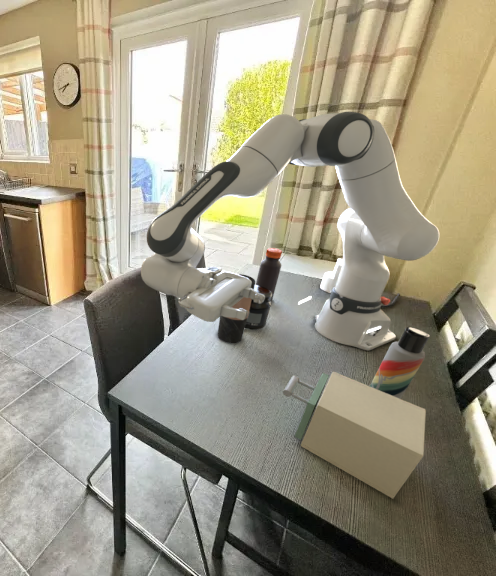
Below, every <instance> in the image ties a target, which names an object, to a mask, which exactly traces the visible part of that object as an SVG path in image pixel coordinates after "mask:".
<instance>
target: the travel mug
mask: <svg viewBox="0 0 496 576" xmlns="http://www.w3.org/2000/svg"><path fill="white" fill-rule="evenodd" d="M237 274H238V275H241V276H244V277H246V278H248V279H250V280H251V281H252V284H251V288H252V289H253V290H254V286H255V285H256V280H255V278H254V277H251V276H250V275H247V274H242V273H237ZM251 300H252V299H251V298H246V297H243V298H242V299H241V300H240V301H239V302H237V303H236V304H235V305H234V306H232V307H231V308H235V309H239V308H242V309H244V310H247V311H248V313H249V309H250V304H251ZM247 318H248V314H247V317H246V318H245V319H244V320H241V319H238V318H231V317H224V316H220V317H219V322H218V328H217V337H218V339H219V340H220V341H222V342H224V343H227V344H233V345H234V344H235V345H236V344H239V343H240V342H242V339H243V336H244V332H245V329H246V328H245V325H246V321H247Z"/></svg>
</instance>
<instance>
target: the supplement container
mask: <svg viewBox="0 0 496 576" xmlns="http://www.w3.org/2000/svg"><path fill="white" fill-rule="evenodd" d="M254 290H255V291H256V292H257V293H259V294H262V295H264V296H265V299H264V302H262V303H261V304H258V303H255V302H254V300H253V299H252V300H251V304H250V309H249V313H248V318H247V321H246V325H245V329H246V330H253V331H254V330H257V331H258V330H261V329H263V328H265V327H266V325H267V321H268V317H269V314H270V310H271V307H272V302H271V301H270V300H271V297H272V292H271V291H270V290H268V289H267V288H265V287H262V286H258V285H256V284H255V286H254Z"/></svg>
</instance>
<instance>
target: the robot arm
mask: <svg viewBox="0 0 496 576" xmlns="http://www.w3.org/2000/svg"><path fill="white" fill-rule="evenodd" d="M288 165H293V166H303V167H310V168H316V167H327V166H329V167H335V170H336V175H337V178H338V180H339V185H340V188H341V191H342V194H343V197H344V200H345V203H346V204H347V206H348V208H347V209H345V210H344V211H343V212H342V213H341V214H340V216H339V217H338V220H337V224H336V227H337V231H338V232H339V235H340V237H341V241H342V259H343V262H342V268H341V271H340V274H339V277H338V280H337V283H336V286H335V287H334V288H333V289H332V291H331V293H329V297H328V298H327V299H326V300H325V302H324V304H323V306H322V308H321V310H320V312H319V314H316V315H315V317H314V318H315V322H314V328H315V330H316V332H318V334H320V335H321V336H323V337H325V338H327V339H328V340H330V341H333V342H335V343H338V344H340V345H341V344H342V345H346V346H349V347H351V346H352V347H355V348H358V349H360V350H364V351H371V350H374V349H376V348H379V347H380V346H383V345H385V344H387V343H391V342H392V341H395V340H396V338H397V336H396V334H395V333H394V332H393V331H391V330H390V327H391V325H392V320H391V318H390V317H389V316H388V315H387V314H386V313H385V311H383V310H382V308H388V307H391V306H393V305H394V304H395V303H396V301H397V300H398V299H399V297H400V296H401V293H399V292H398V293H396V295H397V296H395V297H394V298H393V300H392V301H391V299H390V298H387V297H385V296H382V295H383V294H384V290H385V288H386V286H387V285H388V282H389V280H390V275H391V273H390V270H389V268H388V265H387V264H386V260H385V257H387V258H390V259H391V258H392V259H394V260H395V259H396V260H400V261H407V262H409V261H412V262H413V261H417V260H420V259H423V257H426V256H427V255H429V254H430V253H431V252H433V250H434V249H436V246H437V245H438V243H439V240H440V231H439V227H437V226H436V225H435V224H433V223H432V222H431V221H430V220H428V219H427V218H426V217H425V216H424V215H423V213H421V212H420V210H419V209H418V208H417V206H416V205H415V203H414V202H413V201H412V199H411V197H410V196H409V194H408V192H407V191H406V189H405V187H404V186H403V182H402V180H401V177H400V172H399V168H398V163H397V159H396V155H395V151H394V147H393V144H392V142H391V139H390V137H389V135H388V133H387V130H386V128H385V127H384V125H383V124H382V123H381V122H380V121H378V120H376V119H373V118H371V119H370V118H369V117H368V116H367V115H365V114H363V113H360V112H356V111H341V112H334V113H323V114H319V115H316V116H312V117H309V118H302V119H298V118H297V117H296V116H295V117H294V116H292V115H290V114H286V113H285V114H284V113H281V114H277V115H274V116H272V117H271V118H269V119H268V120H267V121H265V122H264V123H263V124H262V125H261V126H260V127H259V128H258V129H256V131H254V132H253V134H251V136H249V138H248V139H246V140H245V141H244V143H243V144H242V145H241V146H240V148H238V150H237V151H236V152H235V153H234V154H233V155H231V156H230V158H228V159H227V160H225V161H222V162H219V163H217V164H216V165H215V166H213V167H212V168H211V169H209V171H207V172H206V173H205V174H204V175H203V176H202V177H201V178H200V179H199V180H198V181H196V183H195V184H193V186H192V187H191V188H190V189H188V191H186V192H185V193H184V194H183V195H182V196H181V197H180V198H179V199H178V200H177V201H176V202H175V203H174V204H173V205H172V206H170V207H169V208H167V209H166V210H164V211H162V212H161V213H159V214H158V215H157V216H156V217H155V218H154V219H152V221H150V224H149V226H148V228H147V231H146V243H147V246H148V248H149V249H150V251H152V252H153V254H151V255H149V256H147V257H146V258H144V260H143V262H142V264H141V268H140V276H141V280H142V282H144V284H145V285H146V286H147V287H149V288H151V289H153V290H155V291H157V292H159V293H161V294H164V295H166V296H173V297H175V298H176V299H178V300H177V301H178V302H177V303H178V305H179V307H181V308H184V309H185V311H187V313H189V314H190V315H192V316H194V317H196V318H198V319H200V320H202V321H204V322H207V323H214V322H215V321H217V320H219V319H220V316H224V317H231V318H238V319H241V320H244V319H245V318H246V317H247V314H248V311H247V310H244V309H242V308H239V309H235V308H231V307H232V306H234V305H235V304H236V303H237V302H239V301H240V300H241V299H242V298H243V297H246V298H251V299H253V300H254V302H255V303H258V304H261V303H262V302H264V299H265V296H264V295H262V294H259V293H257V292H256V291H255V290H253V289H252V288H251V284H252V281H251V280H250V279H248V278H246V277H244V276H241V275H238V274H239V273H234V272H231V271H227V270H223V268H222V267H219V266H209V267H204V268H203V267H199V268H198V265H199V264H200V262H201V260H202V258H203V257H204V254H205V249H206V244H205V241H204V239H203V237H201V235H199V233H198V232H197V231H196V230H195V229H193V228H192V227H193V225H194V223H195V222H196V221H197V220H198V219H199V218H200V217H201V216H202V215H204V213H206V212H207V210H208V209H210V208H211V207H212V206H213V205H214V204H216V202H217V201H219V200H220V199H222V198H224V197H227V196H233V197H236V198H240V199H242V198H243V199H248V198H253V197H256V196H258V195H259V194H261V193H262V192H263V191H264V190H265V189H266V188H268V187H269V186H270V185H271V184H272V183H273V182H274V180H275V179H276V178H278V176H280V174H281V173H282V171H283V170H284V169H285V168H286V167H287V166H288ZM312 298H313V297H312V295H309V296H308V297H306V298H304V299H301V300H299V301H298V303H297V305H301V304H303V303H305V302H308V301H310V300H312Z"/></svg>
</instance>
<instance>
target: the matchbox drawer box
mask: <svg viewBox="0 0 496 576" xmlns="http://www.w3.org/2000/svg"><path fill="white" fill-rule="evenodd" d="M426 411H427V409H426V408H423V407H422V406H421V407H420V406H418V405H416V404H414V403H411V402H409V401H407V400H405V399H404V400H403V399H402V398H401V399H399V398H396V397H394V396H392V395H389V394H387V393H384V392H382V391H379V390H377V389H375V388H372V387H370V385H368V384H365V383H362V382H360V381H358V380H355V379H353V378H350V377H348V376H345V375H343V374H340V373H338V372H335V371H332V373H331V374H330V376H329V378H328V380H327V382H326V384H325V387H324V389H323V391H322V394H321V396H320V399H319V401H318V403H317V406H316V408H315V410H314V413H313V415H312V417H311V419H310V421H309V423H308V426H307V428H306V430H305V433H304V435H303V438H302V441H301V443H300V447H302V448H304V449H305V450H307V451H308V452H310V453H312V454H314V455H316V456H317V457H319V458H321V459H322V460H325V461H326V462H328V463H329V464H331V465H333V466H335V467H336V468H338V469H340V470H342V471H344V472H345V473H347V474H348V475H350V476H352V477H353V478H356V479H357V480H359V481H361V482H363V484H366V485H368V486H370V487H371V488H373V489H374V490H377V491H378V492H380V493H381V494H383V495H385V496H387V497H389V498H391V499H393V500H394V499H395V497H396V495H397V494H398V493H399V491H400V490H401V488H402V487H403V486H404V485H405V483H406V482H407V481H408V478H410V476H411V475H412V473H413V472H414V470H415V469H416V467H417V466H418V465H419V463H420V462H421V460H422V459H423V458H424V454H425V453H424V451H425V434H426V433H425V432H426V414H427V413H426Z"/></svg>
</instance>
